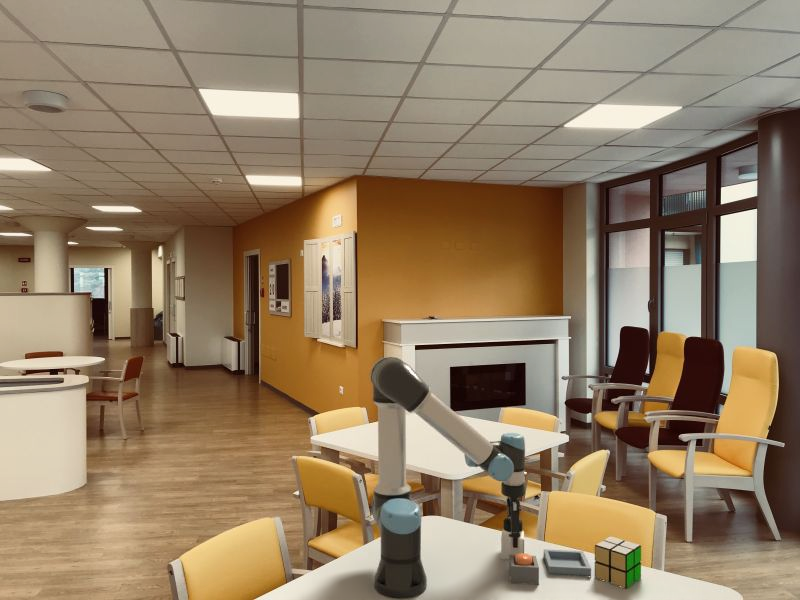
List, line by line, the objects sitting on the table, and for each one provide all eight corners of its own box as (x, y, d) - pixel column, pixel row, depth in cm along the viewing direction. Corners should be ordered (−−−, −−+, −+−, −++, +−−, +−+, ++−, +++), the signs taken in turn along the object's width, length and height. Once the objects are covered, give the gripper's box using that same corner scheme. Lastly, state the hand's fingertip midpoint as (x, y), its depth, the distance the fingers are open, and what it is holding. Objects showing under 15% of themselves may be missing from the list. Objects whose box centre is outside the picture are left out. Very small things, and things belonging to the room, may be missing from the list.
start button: (515, 568, 180) (515, 560, 180) (514, 561, 185) (514, 553, 185) (533, 569, 180) (533, 560, 180) (531, 562, 185) (531, 553, 185)
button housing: (511, 583, 179) (511, 566, 179) (509, 570, 187) (509, 554, 187) (538, 584, 178) (538, 567, 178) (535, 572, 186) (535, 555, 186)
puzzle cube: (609, 567, 190) (610, 535, 190) (641, 578, 182) (641, 545, 182) (593, 578, 183) (594, 544, 182) (626, 589, 175) (626, 554, 175)
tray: (548, 574, 184) (548, 566, 184) (543, 557, 197) (543, 549, 197) (591, 576, 183) (591, 568, 183) (583, 558, 195) (583, 551, 195)
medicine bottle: (524, 561, 193) (524, 523, 193) (501, 559, 195) (501, 522, 195) (524, 552, 200) (524, 516, 200) (501, 550, 202) (502, 514, 202)
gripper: (529, 495, 185) (529, 565, 185) (521, 471, 209) (521, 533, 210) (503, 494, 185) (504, 564, 186) (499, 470, 210) (499, 532, 210)
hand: (513, 547), depth 198 cm, fingers open, 13 cm apart
